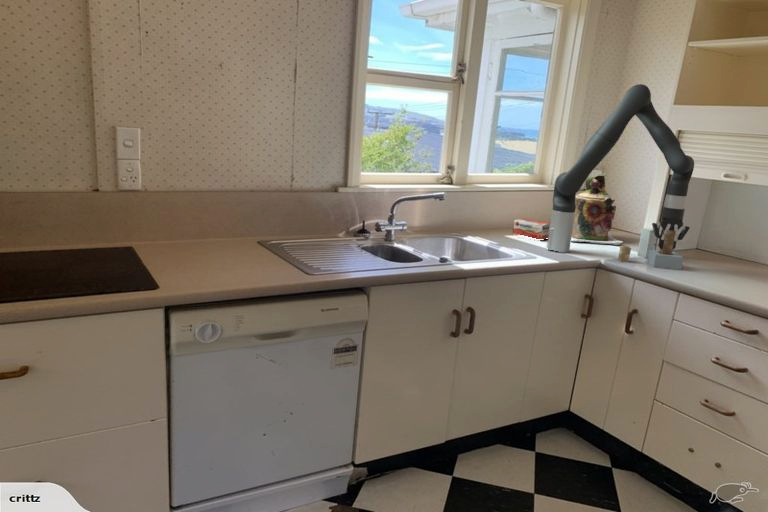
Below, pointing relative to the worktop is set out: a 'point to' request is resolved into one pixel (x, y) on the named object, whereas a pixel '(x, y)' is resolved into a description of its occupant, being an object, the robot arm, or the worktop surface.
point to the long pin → (668, 242)
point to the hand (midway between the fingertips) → (666, 249)
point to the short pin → (624, 253)
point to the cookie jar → (594, 213)
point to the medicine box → (531, 228)
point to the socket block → (664, 260)
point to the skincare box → (646, 242)
